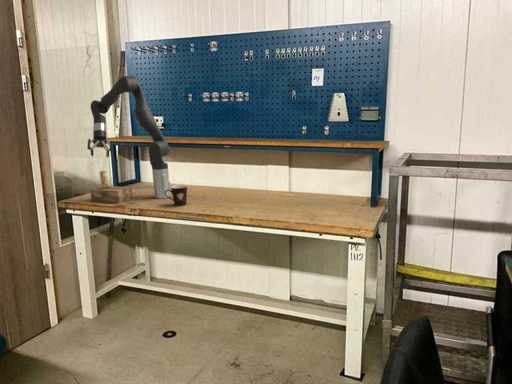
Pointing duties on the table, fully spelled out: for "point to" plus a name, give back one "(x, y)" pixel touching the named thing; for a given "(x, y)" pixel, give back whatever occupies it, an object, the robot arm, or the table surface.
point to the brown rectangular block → (111, 194)
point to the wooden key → (103, 179)
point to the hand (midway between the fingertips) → (100, 156)
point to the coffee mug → (178, 195)
